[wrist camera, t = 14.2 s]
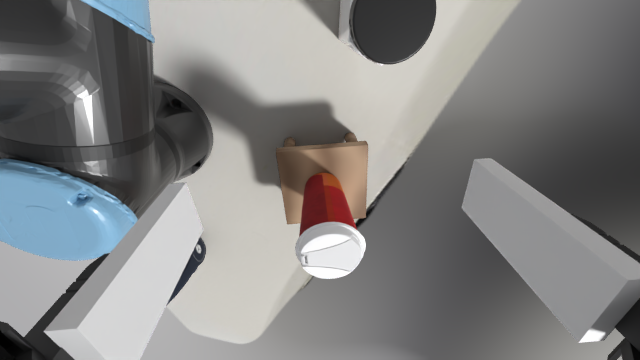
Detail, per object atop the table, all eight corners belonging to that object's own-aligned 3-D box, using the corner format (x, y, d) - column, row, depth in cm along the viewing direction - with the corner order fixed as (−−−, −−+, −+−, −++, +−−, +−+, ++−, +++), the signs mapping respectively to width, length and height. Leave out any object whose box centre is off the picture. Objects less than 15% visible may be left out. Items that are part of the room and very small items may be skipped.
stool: (289, 200, 49) (287, 224, 43) (279, 134, 43) (275, 152, 37) (358, 194, 50) (365, 217, 44) (359, 128, 43) (368, 145, 37)
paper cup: (300, 210, 42) (298, 284, 30) (295, 167, 38) (291, 233, 26) (348, 206, 42) (366, 279, 30) (348, 163, 38) (369, 227, 26)
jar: (323, 30, 36) (332, 33, 25) (358, -34, 32) (384, -62, 22) (375, 67, 39) (402, 82, 28) (412, 11, 35) (458, 5, 25)
